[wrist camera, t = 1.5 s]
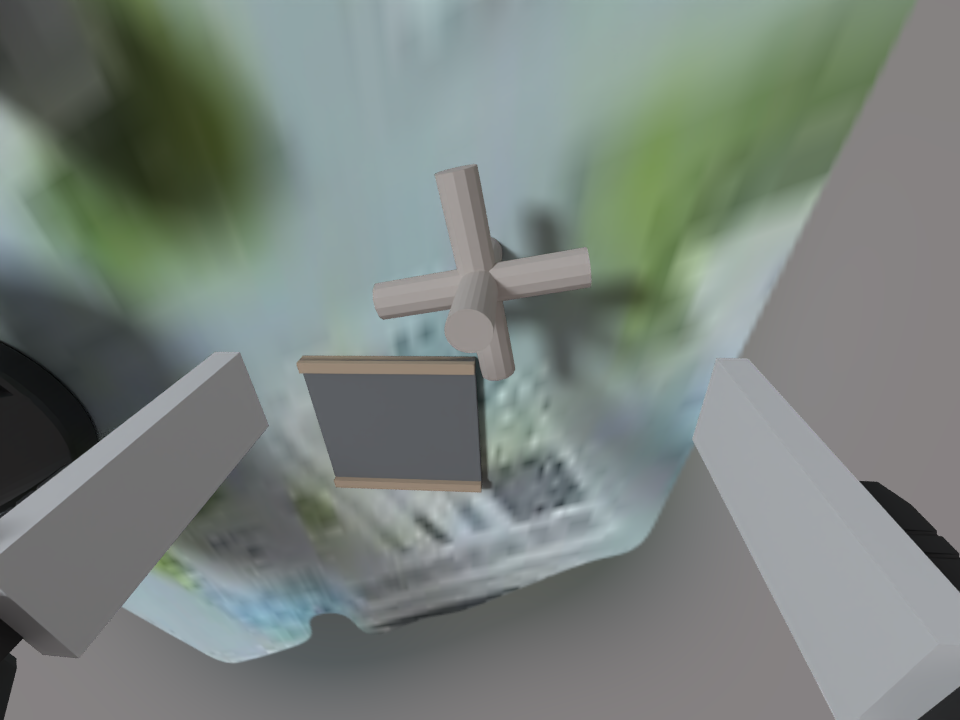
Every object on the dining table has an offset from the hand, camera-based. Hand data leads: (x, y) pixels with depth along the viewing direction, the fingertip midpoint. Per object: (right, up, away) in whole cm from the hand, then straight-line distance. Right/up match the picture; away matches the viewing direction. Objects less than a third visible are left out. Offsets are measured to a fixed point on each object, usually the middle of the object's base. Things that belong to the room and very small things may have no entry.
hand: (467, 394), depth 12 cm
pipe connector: (+1, +7, +12) cm, 14 cm away
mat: (-6, -4, +19) cm, 20 cm away
